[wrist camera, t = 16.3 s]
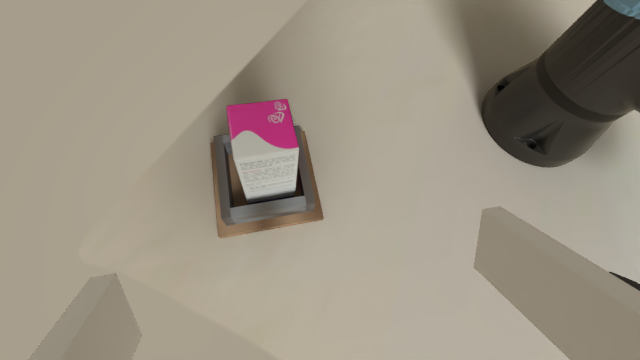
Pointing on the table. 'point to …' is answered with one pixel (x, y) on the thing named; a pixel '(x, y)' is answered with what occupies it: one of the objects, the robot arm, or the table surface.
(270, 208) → the socket
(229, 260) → the table surface
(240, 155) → the supplement box
